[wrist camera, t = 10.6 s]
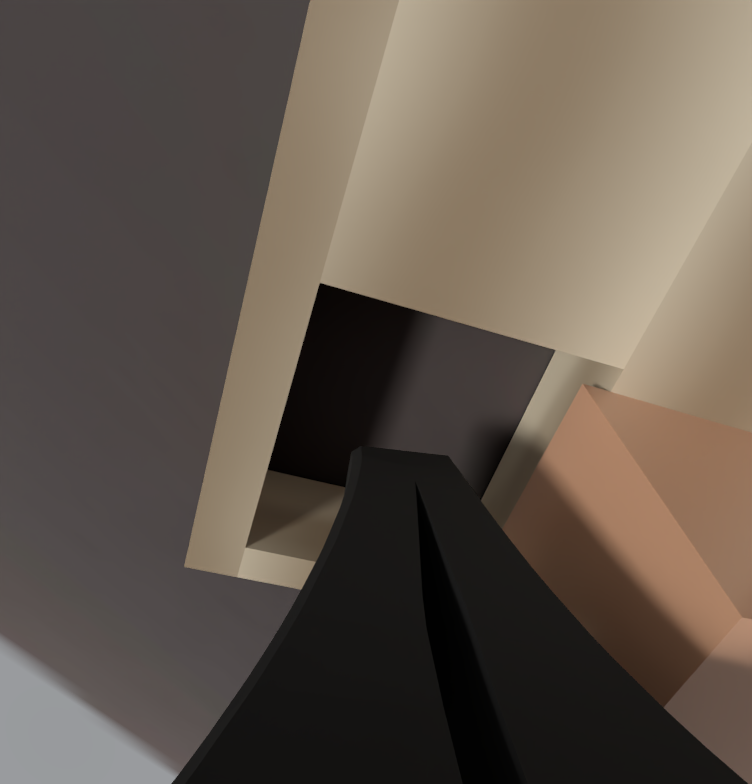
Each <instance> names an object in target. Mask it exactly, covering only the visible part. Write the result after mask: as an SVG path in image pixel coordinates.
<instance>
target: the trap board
mask: <svg viewBox="0 0 752 784" xmlns="http://www.w3.org/2000/svg"><path fill="white" fill-rule="evenodd" d="M320 283H322V284H326V285H329V286H333V287H336V288H340V289H343V290H347V291H350V292H354V293H357V294H361V295H364V296H368V297H371V298H375V299H379V300H382V301H386V302H389V303H393V304H396V305H400V306H403V307H407V308H410V309H414V310H417V311H421V312H424V313H428V314H431V315H435V316H438V317H442V318H445V319H449V320H452V321H456V322H459V323H463V324H466V325H470V326H473V327H477V328H480V329H484V330H487V331H491V332H494V333H498V334H501V335H505V336H508V337H512V338H515V339H519V340H522V341H526V342H529V343H533V344H537V345H540V346H544V347H547V348H551V349H554V350H556V351H555V353H554V355H553V357H552V359H551V361H550V363H549V365H548V367H547V369H546V371H545V373H544V375H543V377H542V379H541V381H540V383H539V385H538V387H537V389H536V391H535V393H534V395H533V397H532V399H531V401H530V403H529V405H528V407H527V409H526V411H525V413H524V415H523V417H522V419H521V421H520V423H519V425H518V427H517V429H516V431H515V433H514V435H513V437H512V439H511V441H510V443H509V445H508V447H507V449H506V451H505V453H504V455H503V457H502V459H501V461H500V463H499V465H498V467H497V469H496V471H495V473H494V475H493V477H492V479H491V481H490V483H489V485H488V487H487V489H486V491H485V493H484V495H483V497H482V499H481V502H482V503H483V504H484V506H485V507H486V508H487V510H488V511H489V512H490V514H491V515H492V516H493V518H494V519H495V520H496V522H497V523H498V524H499V526H500V527H501V528H502V529H503V527H504V525H505V523H506V521H507V520H508V518H509V516H510V514H511V512H512V510H513V509H514V507H515V505H516V503H517V501H518V500H519V498H520V496H521V494H522V492H523V491H524V489H525V487H526V485H527V483H528V481H529V480H530V478H531V476H532V474H533V472H534V471H535V469H536V467H537V465H538V463H539V462H540V460H541V458H542V456H543V454H544V452H545V451H546V449H547V447H548V445H549V443H550V442H551V440H552V438H553V436H554V434H555V433H556V431H557V429H558V427H559V425H560V423H561V422H562V420H563V418H564V416H565V414H566V413H567V411H568V409H569V407H570V405H571V404H572V402H573V400H574V398H575V396H576V394H577V393H578V391H579V389H580V387H581V385H582V384H586V385H589V386H592V387H596V388H599V389H603V390H606V391H610V392H613V393H617V394H620V395H624V396H627V397H630V398H634V399H637V400H641V401H644V402H648V403H651V404H655V405H658V406H661V407H665V408H668V409H672V410H675V411H679V412H682V413H686V414H689V415H693V416H696V417H699V418H703V419H706V420H710V421H713V422H717V423H720V424H724V425H727V426H731V427H734V428H737V429H741V430H744V431H748V432H751V433H752V0H310V4H309V8H308V13H307V17H306V22H305V26H304V31H303V35H302V40H301V44H300V48H299V53H298V57H297V62H296V66H295V71H294V75H293V80H292V84H291V89H290V93H289V98H288V102H287V107H286V111H285V116H284V120H283V125H282V129H281V134H280V138H279V143H278V147H277V152H276V156H275V161H274V165H273V170H272V174H271V179H270V183H269V188H268V192H267V197H266V201H265V206H264V210H263V215H262V219H261V224H260V228H259V233H258V237H257V242H256V246H255V251H254V255H253V260H252V264H251V269H250V273H249V278H248V282H247V287H246V291H245V296H244V300H243V305H242V309H241V314H240V318H239V323H238V327H237V332H236V336H235V341H234V345H233V350H232V354H231V359H230V363H229V368H228V372H227V377H226V381H225V386H224V390H223V395H222V399H221V404H220V408H219V413H218V417H217V422H216V426H215V431H214V435H213V440H212V444H211V449H210V453H209V457H208V462H207V466H206V471H205V475H204V480H203V484H202V489H201V493H200V498H199V502H198V507H197V511H196V516H195V520H194V525H193V529H192V534H191V538H190V543H189V547H188V552H187V556H186V561H185V565H184V567H188V568H193V569H198V570H203V571H208V572H214V573H219V574H224V575H229V576H234V577H239V578H245V579H250V580H255V581H260V582H265V583H270V584H275V585H281V586H286V587H291V588H296V589H302V587H303V585H304V584H305V582H306V580H307V578H308V576H309V574H310V572H311V570H312V568H313V566H314V564H315V563H316V561H317V559H318V557H319V555H320V553H321V551H322V549H323V546H324V544H325V542H326V540H327V537H328V535H329V532H330V530H331V528H332V525H333V523H334V521H335V518H336V516H337V513H338V511H339V509H340V506H341V503H342V500H343V497H344V492H345V487H341V486H337V485H332V484H328V483H323V482H319V481H315V480H310V479H306V478H301V477H297V476H292V475H288V474H284V473H279V472H275V471H270V470H267V469H268V465H269V462H270V458H271V454H272V451H273V447H274V444H275V440H276V437H277V433H278V430H279V426H280V422H281V419H282V415H283V412H284V408H285V405H286V401H287V398H288V394H289V390H290V387H291V383H292V380H293V376H294V373H295V369H296V366H297V362H298V358H299V355H300V351H301V348H302V344H303V341H304V337H305V333H306V330H307V326H308V323H309V319H310V316H311V312H312V309H313V305H314V301H315V298H316V294H317V291H318V287H319V284H320Z"/></svg>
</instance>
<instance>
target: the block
mask: <svg viewBox="0 0 752 784" xmlns="http://www.w3.org/2000/svg"><path fill="white" fill-rule="evenodd" d="M502 530H503V531H504V532H505V534H506V535H507V536H508V538H509V539H510V540H511V541H512V543H513V544H514V545H515V546H516V548H517V549H518V550H519V551H520V553H521V554H522V555H523V557H524V558H525V559H526V560H527V562H528V563H529V564H530V565H531V567H532V568H533V569H534V570H535V571H536V573H537V574H538V575H539V576H540V577H541V579H542V580H543V581H544V582H545V583H546V585H547V586H548V587H549V588H550V589H551V590H552V592H553V593H554V594H555V595H556V596H557V597H558V598H559V600H560V601H561V602H562V603H563V604H564V605H565V606H566V607H567V608H568V610H569V611H570V612H571V613H572V614H573V615H574V616H575V617H576V619H577V620H578V621H579V622H580V623H581V624H582V625H583V626H584V628H585V629H586V630H587V631H588V632H589V633H590V634H591V635H592V636H593V637H594V639H595V640H596V641H597V642H598V643H599V644H600V645H601V646H602V647H603V648H604V649H605V650H606V651H607V652H608V653H609V654H610V655H611V656H612V657H613V658H614V659H615V660H616V661H617V662H618V663H619V664H620V665H621V666H622V667H623V668H624V669H625V670H626V671H627V672H628V673H629V674H630V675H631V676H632V677H633V678H634V679H635V680H636V681H637V682H638V683H639V684H640V685H641V686H642V687H643V688H644V689H645V690H646V691H647V692H648V693H649V694H650V695H651V696H652V697H653V698H654V699H655V700H656V701H657V702H658V703H659V704H660V705H661V706H662V707H663V708H664V709H665V710H666V711H667V712H669V713H670V714H671V715H672V716H673V717H674V718H675V719H676V720H677V721H678V722H679V723H680V724H681V725H683V726H684V727H685V728H686V729H687V730H688V731H689V732H690V733H691V734H692V735H693V736H695V737H696V738H697V739H698V740H699V741H700V742H701V743H702V744H703V745H704V746H705V747H707V748H708V749H709V750H710V751H711V752H712V753H713V754H715V755H716V756H717V757H718V758H719V759H720V760H722V761H723V762H724V763H725V764H726V765H727V766H728V767H730V768H731V769H732V770H733V771H734V772H735V773H737V774H738V775H739V776H740V777H741V778H742V779H743V780H745V781H746V782H747V783H748V784H752V433H751V432H748V431H744V430H741V429H737V428H734V427H731V426H727V425H724V424H720V423H717V422H713V421H710V420H706V419H703V418H699V417H696V416H693V415H689V414H686V413H682V412H679V411H675V410H672V409H668V408H665V407H661V406H658V405H655V404H651V403H648V402H644V401H641V400H637V399H634V398H630V397H627V396H624V395H620V394H617V393H613V392H610V391H606V390H603V389H599V388H596V387H592V386H589V385H586V384H582V385H581V387H580V389H579V391H578V393H577V394H576V396H575V398H574V400H573V402H572V404H571V405H570V407H569V409H568V411H567V413H566V414H565V416H564V418H563V420H562V422H561V423H560V425H559V427H558V429H557V431H556V433H555V434H554V436H553V438H552V440H551V442H550V443H549V445H548V447H547V449H546V451H545V452H544V454H543V456H542V458H541V460H540V462H539V463H538V465H537V467H536V469H535V471H534V472H533V474H532V476H531V478H530V480H529V481H528V483H527V485H526V487H525V489H524V491H523V492H522V494H521V496H520V498H519V500H518V501H517V503H516V505H515V507H514V509H513V510H512V512H511V514H510V516H509V518H508V520H507V521H506V523H505V525H504V527H503V529H502Z"/></svg>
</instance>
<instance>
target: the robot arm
mask: <svg viewBox="0 0 752 784" xmlns="http://www.w3.org/2000/svg"><path fill="white" fill-rule="evenodd" d="M172 784H748V783H747V782H746V781H745V780H743V779H742V778H741V777H740V776H739V775H738V774H737V773H735V772H734V771H733V770H732V769H731V768H730V767H728V766H727V765H726V764H725V763H724V762H723V761H722V760H720V759H719V758H718V757H717V756H716V755H715V754H713V753H712V752H711V751H710V750H709V749H708V748H707V747H705V746H704V745H703V744H702V743H701V742H700V741H699V740H698V739H697V738H696V737H695V736H693V735H692V734H691V733H690V732H689V731H688V730H687V729H686V728H685V727H684V726H683V725H681V724H680V723H679V722H678V721H677V720H676V719H675V718H674V717H673V716H672V715H671V714H670V713H669V712H667V711H666V710H665V709H664V708H663V707H662V706H661V705H660V704H659V703H658V702H657V701H656V700H655V699H654V698H653V697H652V696H651V695H650V694H649V693H648V692H647V691H646V690H645V689H644V688H643V687H642V686H641V685H640V684H639V683H638V682H637V681H636V680H635V679H634V678H633V677H632V676H631V675H630V674H629V673H628V672H627V671H626V670H625V669H624V668H623V667H622V666H621V665H620V664H619V663H618V662H617V661H616V660H615V659H614V658H613V657H612V656H611V655H610V654H609V653H608V652H607V651H606V650H605V649H604V648H603V647H602V646H601V645H600V644H599V643H598V642H597V641H596V640H595V639H594V637H593V636H592V635H591V634H590V633H589V632H588V631H587V630H586V629H585V628H584V626H583V625H582V624H581V623H580V622H579V621H578V620H577V619H576V617H575V616H574V615H573V614H572V613H571V612H570V611H569V610H568V608H567V607H566V606H565V605H564V604H563V603H562V602H561V601H560V600H559V598H558V597H557V596H556V595H555V594H554V593H553V592H552V590H551V589H550V588H549V587H548V586H547V585H546V583H545V582H544V581H543V580H542V579H541V577H540V576H539V575H538V574H537V573H536V571H535V570H534V569H533V568H532V567H531V565H530V564H529V563H528V562H527V560H526V559H525V558H524V557H523V555H522V554H521V553H520V551H519V550H518V549H517V548H516V546H515V545H514V544H513V543H512V541H511V540H510V539H509V538H508V536H507V535H506V534H505V532H504V531H503V530H502V528H501V527H500V526H499V524H498V523H497V522H496V520H495V519H494V518H493V516H492V515H491V514H490V512H489V511H488V510H487V508H486V507H485V506H484V504H483V503H482V502H481V500H480V499H479V497H478V496H477V495H476V493H475V492H474V491H473V489H472V488H471V486H470V485H469V484H468V482H467V481H466V480H465V478H464V477H463V475H462V474H461V473H460V471H459V470H458V469H457V467H456V466H455V465H454V463H453V462H452V461H451V459H450V458H449V457H448V456H444V455H435V454H427V453H418V452H409V451H400V450H391V449H383V448H374V447H365V446H360V447H359V448H357V449H355V450H354V451H352V452H351V457H350V463H349V469H348V474H347V480H346V486H345V492H344V497H343V500H342V503H341V506H340V509H339V511H338V513H337V516H336V518H335V521H334V523H333V525H332V528H331V530H330V532H329V535H328V537H327V540H326V542H325V544H324V546H323V549H322V551H321V553H320V555H319V557H318V559H317V561H316V563H315V564H314V566H313V568H312V570H311V572H310V574H309V576H308V578H307V580H306V582H305V584H304V585H303V587H302V589H301V591H300V593H299V595H298V597H297V599H296V601H295V602H294V604H293V606H292V608H291V609H290V611H289V613H288V615H287V616H286V618H285V620H284V621H283V623H282V625H281V626H280V628H279V630H278V631H277V633H276V635H275V636H274V638H273V640H272V641H271V643H270V644H269V646H268V648H267V649H266V651H265V652H264V654H263V655H262V657H261V658H260V660H259V662H258V663H257V665H256V666H255V668H254V669H253V671H252V672H251V674H250V675H249V677H248V679H247V680H246V681H245V683H244V684H243V686H242V687H241V689H240V690H239V692H238V693H237V694H236V696H235V697H234V699H233V700H232V702H231V703H230V704H229V706H228V707H227V709H226V710H225V712H224V713H223V714H222V716H221V717H220V719H219V720H218V722H217V723H216V724H215V726H214V727H213V729H212V730H211V732H210V733H209V734H208V736H207V737H206V739H205V740H204V741H203V743H202V744H201V745H200V747H199V748H198V749H197V751H196V752H195V753H194V755H193V756H192V758H191V759H190V760H189V762H188V763H187V764H186V766H185V767H184V768H183V770H182V771H181V772H180V773H179V775H178V776H177V777H176V779H175V780H174V781H173V782H172Z"/></svg>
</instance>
